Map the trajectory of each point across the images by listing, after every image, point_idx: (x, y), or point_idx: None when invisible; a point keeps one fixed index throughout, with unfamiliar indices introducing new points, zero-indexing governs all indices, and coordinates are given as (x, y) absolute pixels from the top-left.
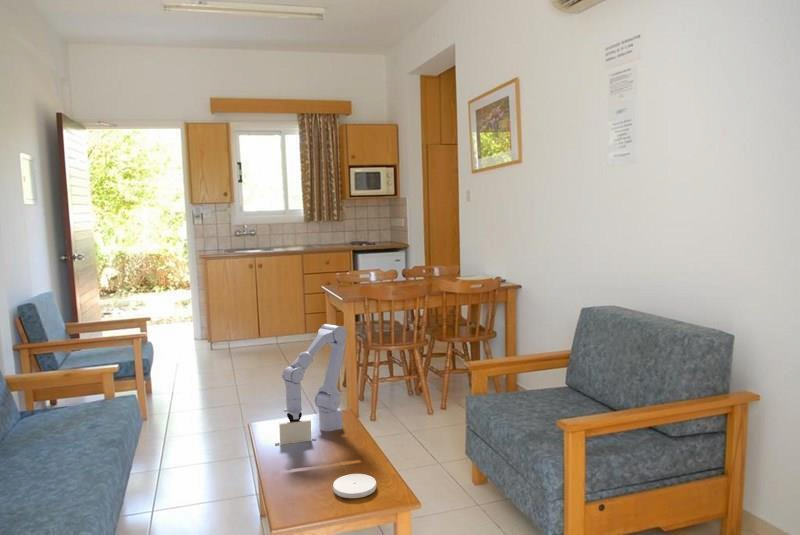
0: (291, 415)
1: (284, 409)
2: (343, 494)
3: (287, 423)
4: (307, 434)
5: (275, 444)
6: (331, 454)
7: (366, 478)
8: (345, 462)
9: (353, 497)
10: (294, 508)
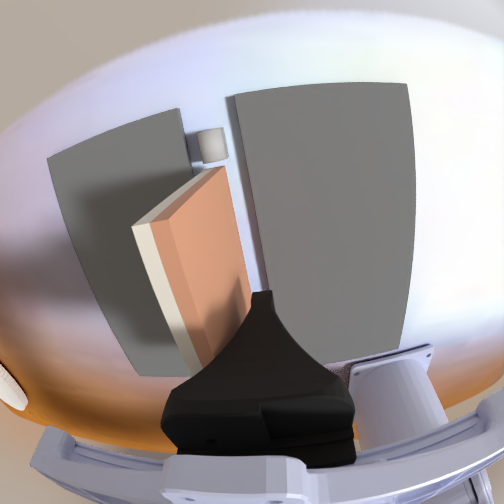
0: (185, 444)
1: (218, 501)
2: None
3: (170, 326)
4: None
5: (197, 133)
6: (128, 385)
7: (14, 402)
8: (85, 398)
9: None
10: None
